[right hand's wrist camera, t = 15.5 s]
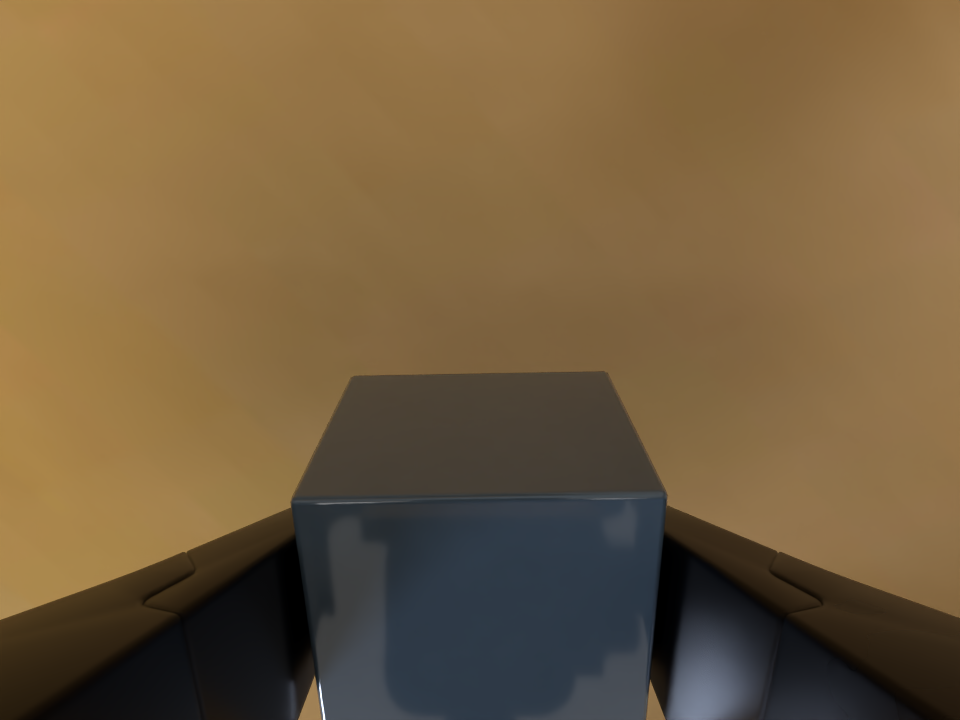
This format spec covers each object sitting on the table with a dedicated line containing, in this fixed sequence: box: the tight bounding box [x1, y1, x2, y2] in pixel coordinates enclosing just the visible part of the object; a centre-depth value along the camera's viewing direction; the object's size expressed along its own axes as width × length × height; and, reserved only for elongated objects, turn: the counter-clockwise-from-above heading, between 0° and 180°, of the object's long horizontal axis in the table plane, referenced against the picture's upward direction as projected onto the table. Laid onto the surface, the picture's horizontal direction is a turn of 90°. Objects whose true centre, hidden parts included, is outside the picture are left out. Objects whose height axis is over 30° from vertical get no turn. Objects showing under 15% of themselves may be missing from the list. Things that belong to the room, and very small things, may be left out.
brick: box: [290, 371, 668, 720], centre depth 11 cm, size 5×4×4 cm
